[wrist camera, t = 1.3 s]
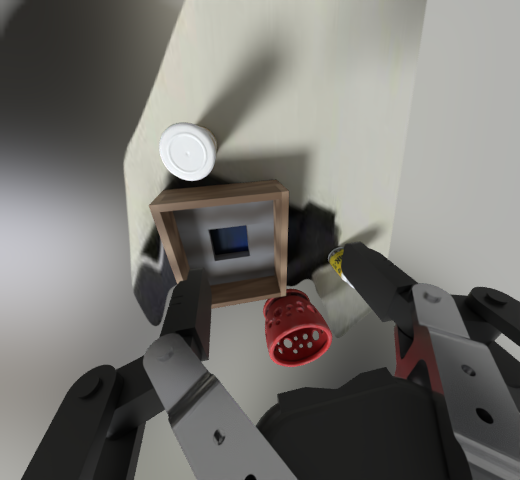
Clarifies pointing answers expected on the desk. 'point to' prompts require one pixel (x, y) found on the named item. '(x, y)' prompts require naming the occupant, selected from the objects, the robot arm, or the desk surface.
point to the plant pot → (294, 329)
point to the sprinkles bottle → (188, 150)
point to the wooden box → (221, 216)
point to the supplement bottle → (338, 262)
